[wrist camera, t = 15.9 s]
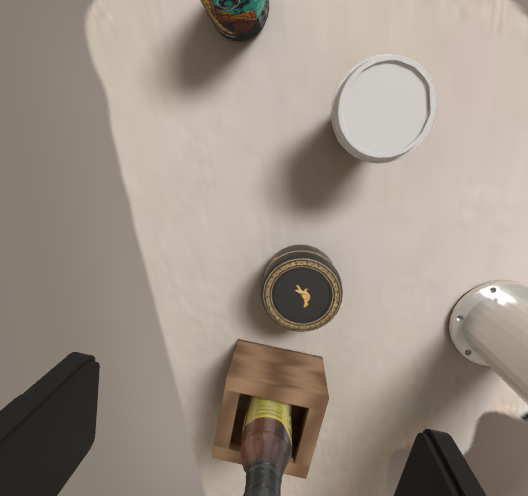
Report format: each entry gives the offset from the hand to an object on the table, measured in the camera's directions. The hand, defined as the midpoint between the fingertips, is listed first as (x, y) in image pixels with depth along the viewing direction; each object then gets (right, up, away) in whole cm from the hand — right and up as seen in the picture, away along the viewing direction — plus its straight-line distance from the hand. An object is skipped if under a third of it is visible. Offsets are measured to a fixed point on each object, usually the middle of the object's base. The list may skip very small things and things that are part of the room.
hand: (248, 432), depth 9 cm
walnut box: (+2, -16, +41) cm, 44 cm away
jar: (+6, +1, +37) cm, 37 cm away
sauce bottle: (+2, -16, +41) cm, 44 cm away
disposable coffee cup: (+12, +21, +31) cm, 40 cm away
